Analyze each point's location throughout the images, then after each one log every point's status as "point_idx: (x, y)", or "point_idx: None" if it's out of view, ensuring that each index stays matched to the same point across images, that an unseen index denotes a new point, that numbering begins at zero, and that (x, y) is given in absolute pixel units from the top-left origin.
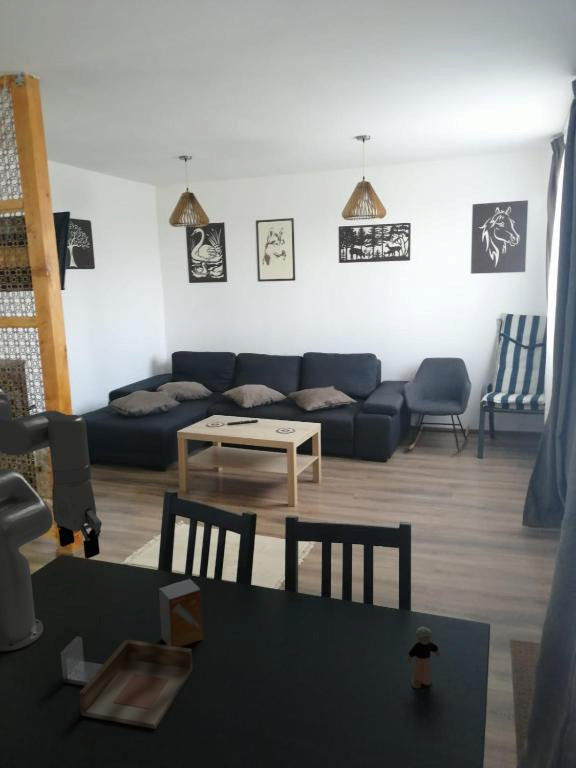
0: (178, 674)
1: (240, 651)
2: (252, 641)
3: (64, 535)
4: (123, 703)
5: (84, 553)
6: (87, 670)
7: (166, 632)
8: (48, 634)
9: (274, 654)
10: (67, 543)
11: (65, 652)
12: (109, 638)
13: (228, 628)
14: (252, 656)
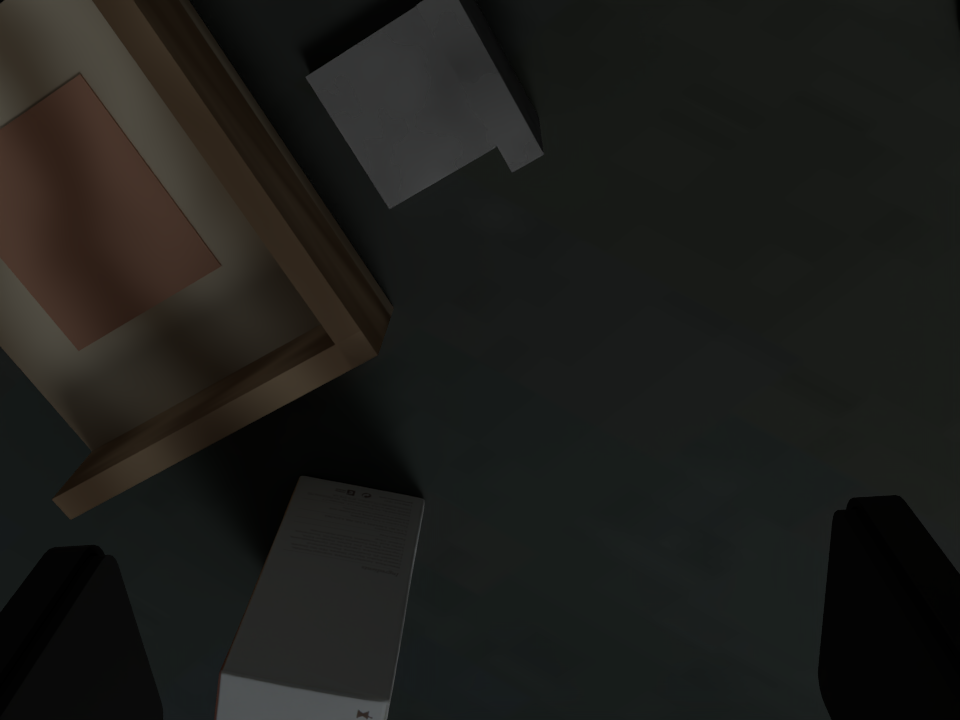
0: (87, 396)
1: None
2: None
3: (912, 699)
4: (38, 108)
5: (57, 594)
6: (422, 111)
7: (338, 523)
8: (955, 125)
9: None
10: (834, 601)
11: (427, 10)
12: (624, 338)
13: None
14: None
